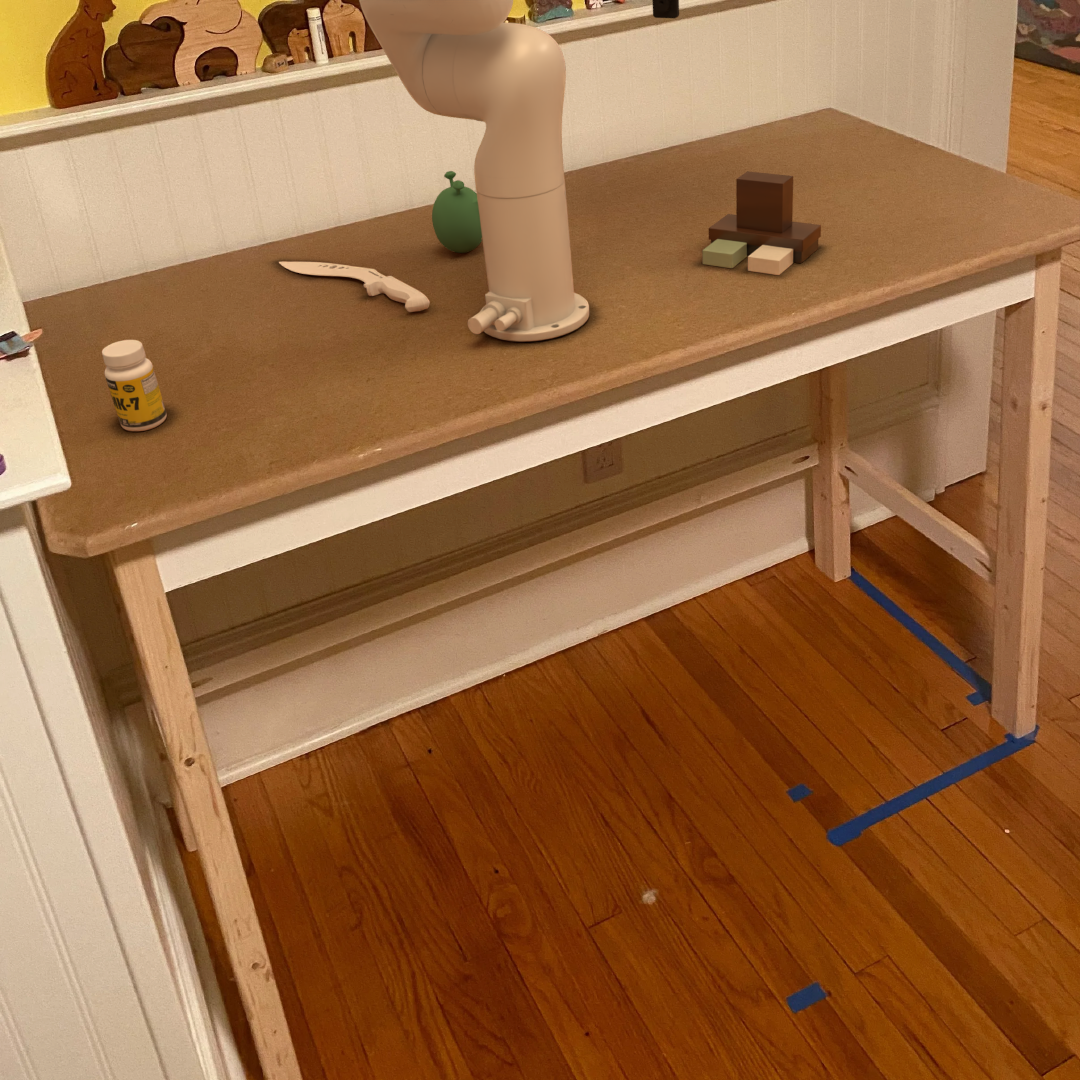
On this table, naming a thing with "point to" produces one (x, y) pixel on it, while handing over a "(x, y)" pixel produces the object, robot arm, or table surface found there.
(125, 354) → the supplement bottle
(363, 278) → the knife
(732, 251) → the chip
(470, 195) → the alien toy
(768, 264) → the chip
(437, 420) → the table surface
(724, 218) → the brown inverted t block
